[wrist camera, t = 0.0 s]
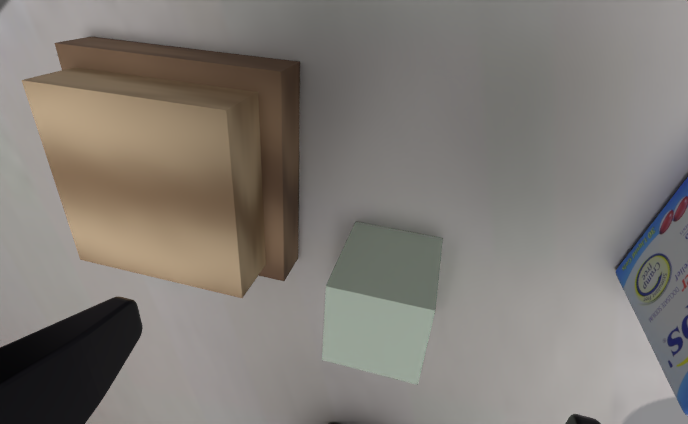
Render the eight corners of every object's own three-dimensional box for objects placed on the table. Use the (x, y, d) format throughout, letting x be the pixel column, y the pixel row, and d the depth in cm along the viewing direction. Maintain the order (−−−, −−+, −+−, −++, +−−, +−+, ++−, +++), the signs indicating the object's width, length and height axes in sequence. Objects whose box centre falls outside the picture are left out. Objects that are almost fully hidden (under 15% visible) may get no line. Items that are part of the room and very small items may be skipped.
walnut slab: (301, 252, 27) (284, 281, 25) (140, 218, 29) (109, 241, 27) (303, 59, 21) (280, 71, 19) (99, 35, 23) (54, 43, 21)
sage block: (427, 304, 26) (417, 384, 21) (349, 287, 27) (321, 359, 22) (442, 237, 23) (435, 310, 18) (355, 221, 24) (325, 286, 19)
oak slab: (265, 264, 24) (242, 298, 22) (117, 232, 26) (80, 259, 24) (258, 92, 19) (226, 110, 17) (74, 67, 21) (21, 80, 19)
